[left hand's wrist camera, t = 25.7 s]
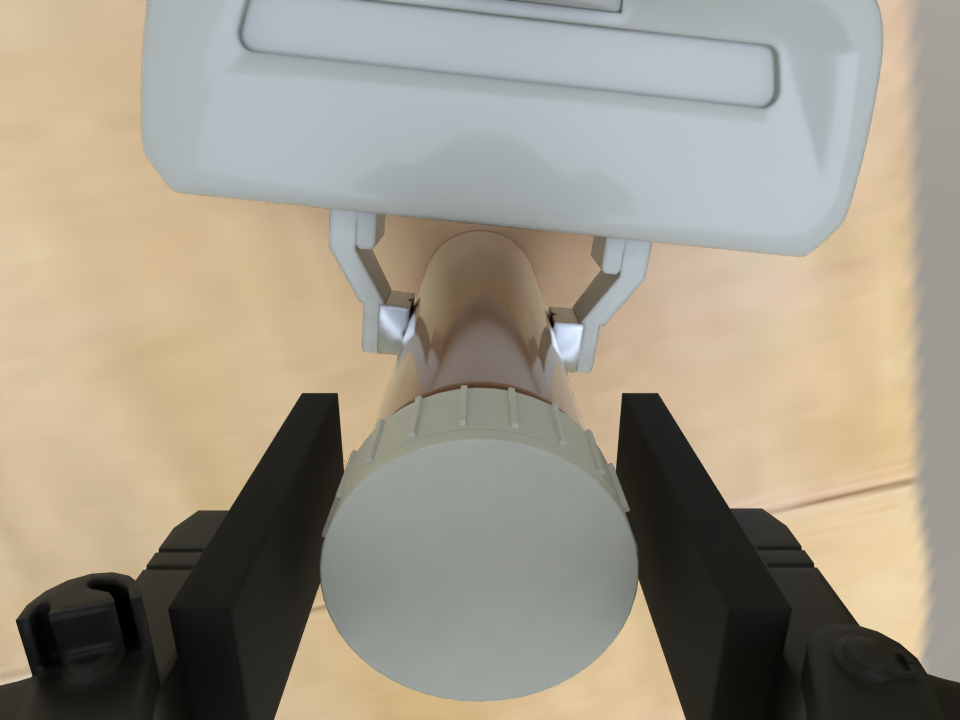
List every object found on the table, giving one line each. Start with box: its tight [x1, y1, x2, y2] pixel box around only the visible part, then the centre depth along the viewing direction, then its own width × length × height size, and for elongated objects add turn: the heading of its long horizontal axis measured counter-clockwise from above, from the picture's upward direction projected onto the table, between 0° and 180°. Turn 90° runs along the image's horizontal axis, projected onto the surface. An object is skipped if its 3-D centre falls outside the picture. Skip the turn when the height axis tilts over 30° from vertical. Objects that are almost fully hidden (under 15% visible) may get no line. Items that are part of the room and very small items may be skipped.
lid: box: [320, 385, 639, 702], centre depth 11 cm, size 5×5×2 cm
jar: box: [373, 231, 586, 431], centre depth 20 cm, size 5×5×18 cm
